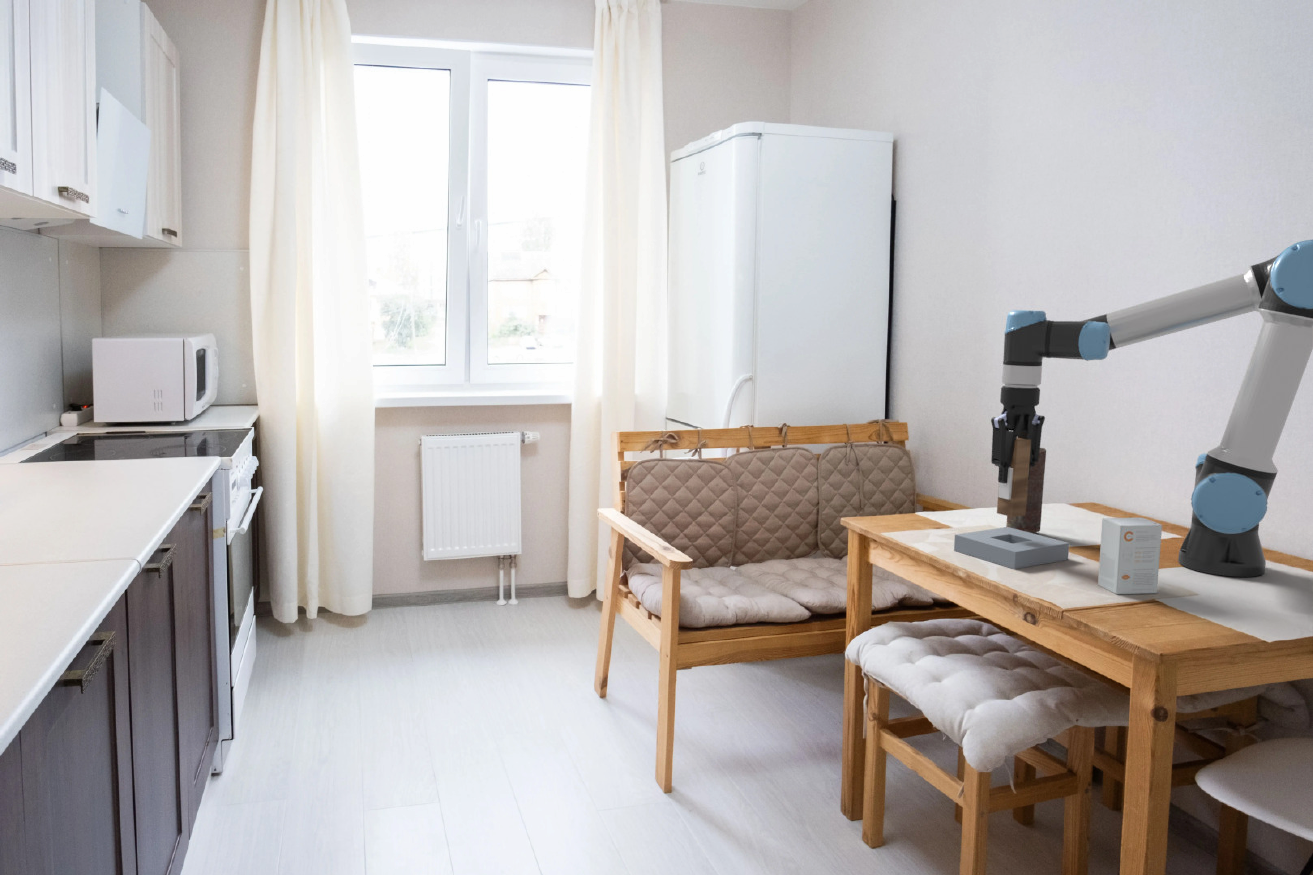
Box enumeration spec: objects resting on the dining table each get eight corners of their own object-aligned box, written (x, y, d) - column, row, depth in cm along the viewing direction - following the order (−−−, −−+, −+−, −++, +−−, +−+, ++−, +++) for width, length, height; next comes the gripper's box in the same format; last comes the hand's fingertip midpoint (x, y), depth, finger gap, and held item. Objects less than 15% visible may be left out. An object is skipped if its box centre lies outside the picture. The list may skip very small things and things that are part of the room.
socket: (1068, 559, 196) (1069, 543, 195) (1014, 569, 188) (1015, 552, 187) (1006, 542, 209) (1007, 526, 209) (953, 550, 202) (954, 534, 201)
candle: (1045, 537, 214) (1051, 450, 211) (1012, 537, 214) (1018, 450, 211) (1032, 529, 221) (1038, 445, 219) (1001, 529, 222) (1006, 445, 219)
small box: (1136, 583, 179) (1142, 516, 177) (1157, 594, 172) (1163, 524, 171) (1096, 584, 178) (1101, 517, 176) (1115, 595, 172) (1121, 525, 170)
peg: (1025, 515, 197) (1031, 439, 195) (1012, 517, 195) (1017, 440, 193) (1010, 511, 200) (1015, 437, 198) (996, 513, 198) (1002, 438, 196)
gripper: (1034, 383, 201) (1026, 490, 204) (976, 385, 193) (969, 497, 196) (1064, 386, 195) (1055, 497, 198) (1006, 388, 186) (997, 504, 190)
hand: (1012, 496), depth 197 cm, fingers closed on peg, 4 cm apart
